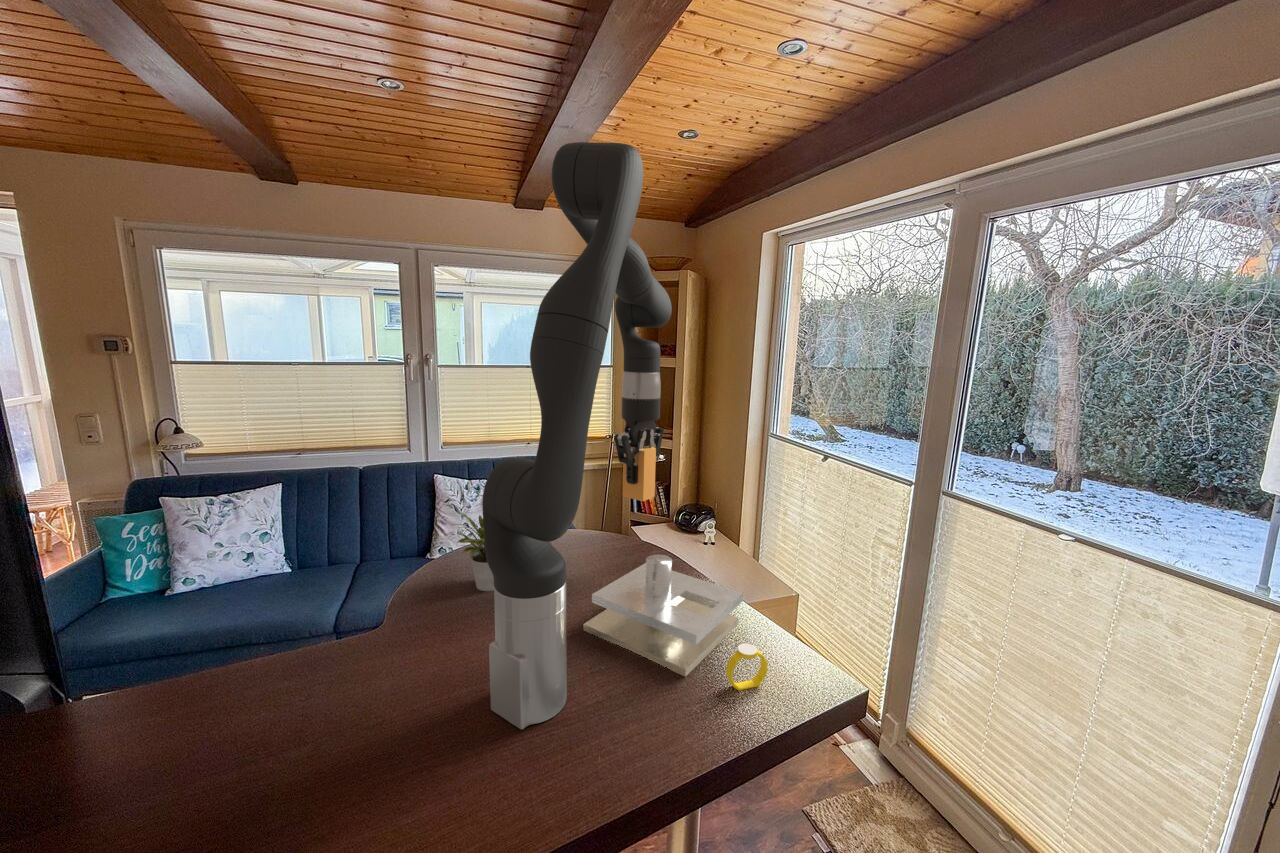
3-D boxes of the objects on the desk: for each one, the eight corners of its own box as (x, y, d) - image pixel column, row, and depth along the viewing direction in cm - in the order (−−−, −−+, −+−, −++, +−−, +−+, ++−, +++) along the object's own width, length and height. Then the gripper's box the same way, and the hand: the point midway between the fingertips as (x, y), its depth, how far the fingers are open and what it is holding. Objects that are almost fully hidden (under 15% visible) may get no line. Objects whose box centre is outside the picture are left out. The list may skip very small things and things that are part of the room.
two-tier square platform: (691, 679, 74) (694, 602, 72) (583, 630, 86) (583, 563, 84) (743, 625, 89) (747, 560, 87) (644, 590, 101) (645, 532, 99)
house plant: (446, 574, 106) (443, 498, 103) (513, 563, 112) (512, 491, 109) (452, 606, 93) (449, 520, 91) (528, 592, 99) (527, 511, 96)
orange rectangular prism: (643, 501, 99) (644, 451, 98) (622, 496, 102) (623, 447, 101) (654, 496, 103) (656, 447, 101) (634, 492, 105) (635, 444, 104)
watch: (732, 698, 71) (732, 659, 70) (723, 685, 74) (722, 648, 73) (770, 687, 73) (770, 649, 72) (760, 675, 76) (759, 638, 74)
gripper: (635, 399, 91) (633, 492, 94) (676, 394, 103) (673, 477, 105) (602, 396, 96) (601, 485, 98) (646, 391, 107) (644, 471, 110)
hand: (639, 480), depth 102 cm, fingers closed on orange rectangular prism, 4 cm apart
